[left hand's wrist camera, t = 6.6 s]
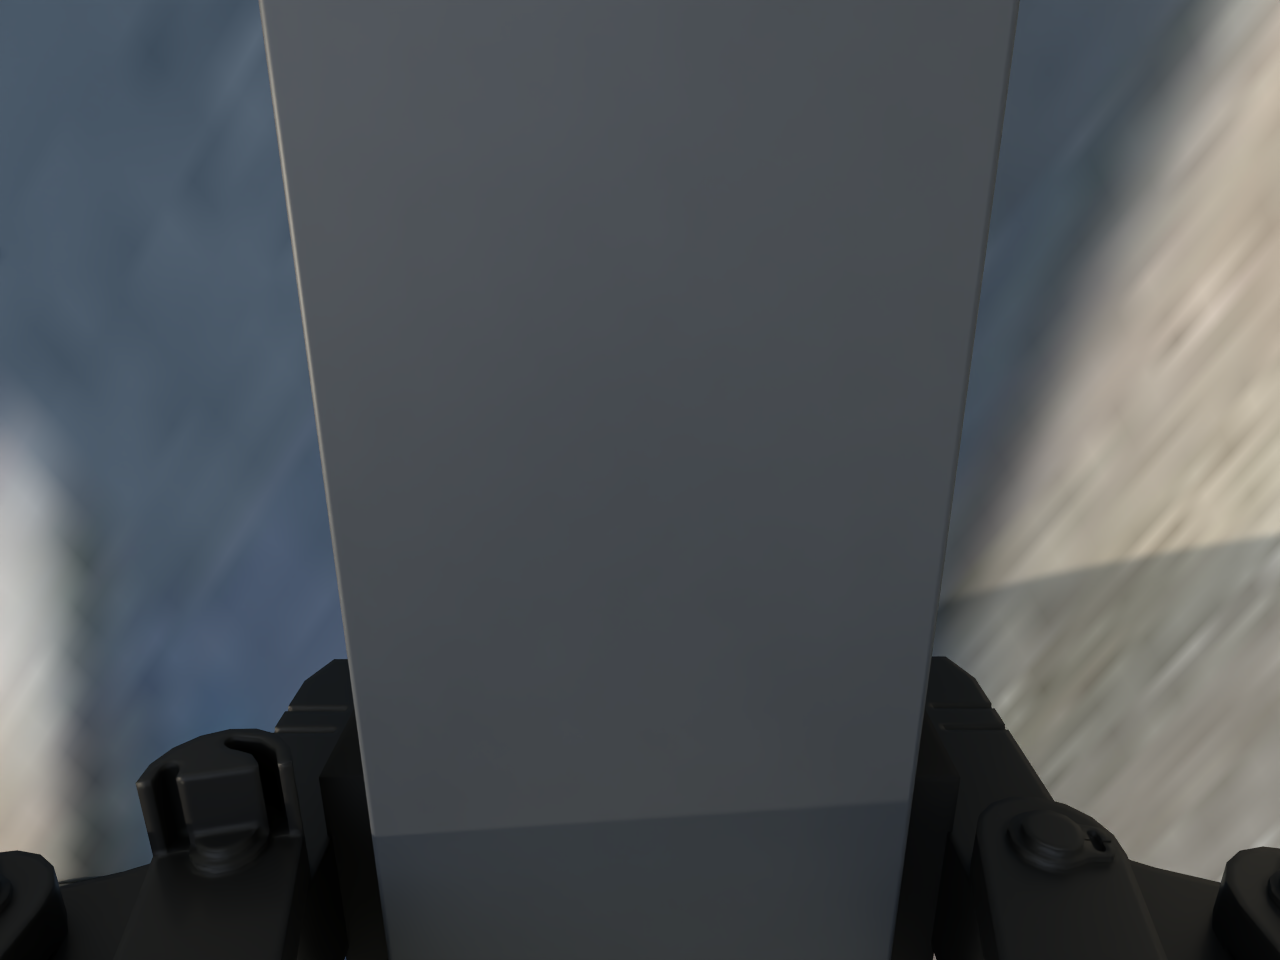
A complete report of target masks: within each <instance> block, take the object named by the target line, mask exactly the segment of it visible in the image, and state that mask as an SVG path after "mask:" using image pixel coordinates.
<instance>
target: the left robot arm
mask: <svg viewBox="0 0 1280 960" xmlns="http://www.w3.org/2000/svg"><path fill="white" fill-rule="evenodd" d="M288 708H289V709H288V711H285V713H284V714H283V716H282V717H281V719H280V720H279V722H278V723H277V725H276V727H275V732H274V733H270V732H267V731H263V730H259V729H229V730H224V731H220V732H215V733H211V734H207V735H202V736H199V737H197V738H195V739H192V740H190V741H188V742H186V743H183V744H181V745H179V746H176V747H174V748H172V749H171V750H170V751H168V752H167V753H165V754H164V755H163V756H161V757H160V758H158V759H157V760H156V761H154V762H153V763H151V764H150V765H149V766H148V768H147V769H146V770H145V772H144V773H143V774H142V776H141V777H140V778H139V780H138V781H137V782H136V786H137V791H138V795H139V799H140V803H141V807H142V811H143V816H144V820H145V824H146V828H147V832H148V836H149V840H150V845H151V849H152V853H153V858H152V861H151V863H150V864H147V865H144V866H141V867H137V868H134V869H131V870H127V871H124V872H120V873H115V874H111V875H107V876H102V877H98V878H94V879H89V880H85V881H81V882H76V883H67V884H58V880H57V877H56V873H55V870H54V867H53V866H52V865H51V864H50V863H49V862H48V861H47V860H46V859H45V858H44V857H43V856H41V855H40V854H34V853H29V852H23V851H18V850H17V851H9V852H0V960H344V959H345V956H346V959H347V960H389V959H388V951H387V944H386V936H385V929H384V922H383V914H382V907H381V900H380V892H379V885H378V878H377V870H376V863H375V855H374V848H373V841H372V833H371V826H370V819H369V811H368V804H367V796H366V789H365V782H364V774H363V767H362V760H361V752H360V745H359V737H358V730H357V723H356V715H355V708H354V701H353V693H352V686H351V678H350V671H349V664H348V659H334V660H333V661H331V662H330V663H328V664H327V665H326V666H324V667H323V668H322V669H320V670H319V671H318V672H316V673H315V674H314V675H312V676H311V677H310V678H308V679H307V680H305V681H304V683H303V684H302V686H301V688H300V689H299V691H298V692H297V694H296V695H295V697H294V699H293V700H292V702H291V703H290V705H289V706H288ZM934 954H935V956H936V959H937V960H1280V849H1279V848H1271V847H1258V848H1252V849H1247V850H1242V851H1239V852H1238V853H1237V854H1236V855H1235V856H1233V857H1232V858H1231V859H1230V860H1229V861H1228V862H1227V864H1226V867H1225V870H1224V874H1223V877H1222V881H1221V883H1219V882H1215V881H1211V880H1206V879H1202V878H1198V877H1193V876H1189V875H1185V874H1180V873H1176V872H1172V871H1167V870H1163V869H1159V868H1155V867H1151V866H1148V865H1145V864H1141V863H1138V862H1135V861H1131V860H1129V859H1128V857H1127V855H1126V853H1125V852H1124V850H1123V849H1122V847H1121V845H1120V844H1119V842H1118V841H1117V839H1116V838H1115V836H1114V835H1113V834H1112V833H1110V832H1109V831H1108V830H1107V829H1106V828H1104V827H1103V826H1102V825H1101V824H1099V823H1098V822H1097V821H1096V820H1095V819H1093V818H1092V817H1090V816H1088V815H1086V814H1084V813H1082V812H1080V811H1078V810H1076V809H1074V808H1072V807H1070V806H1068V805H1066V804H1063V803H1059V802H1055V801H1054V800H1053V798H1052V797H1051V795H1050V794H1049V792H1048V791H1047V789H1046V788H1045V786H1044V784H1043V783H1042V781H1041V780H1040V778H1039V777H1038V775H1037V774H1036V772H1035V770H1034V769H1033V767H1032V766H1031V764H1030V763H1029V761H1028V760H1027V758H1026V756H1025V755H1024V753H1023V752H1022V750H1021V749H1020V747H1019V746H1018V744H1017V743H1016V741H1015V739H1014V738H1013V736H1012V735H1011V733H1010V732H1009V730H1005V724H1004V722H1003V721H1002V719H1001V718H1000V716H999V715H998V713H997V712H996V710H995V708H992V707H991V702H990V701H989V699H988V698H987V696H986V694H985V693H984V691H983V690H982V688H981V687H980V685H979V684H978V682H977V681H976V679H975V678H974V677H973V676H971V675H970V674H969V673H967V672H966V671H964V670H963V669H962V668H960V667H959V666H958V665H956V664H955V663H954V662H952V661H951V660H949V659H948V658H947V657H931V665H930V672H929V679H928V687H927V694H926V702H925V709H924V717H923V724H922V732H921V739H920V746H919V754H918V761H917V769H916V776H915V784H914V791H913V799H912V806H911V813H910V821H909V828H908V836H907V843H906V851H905V858H904V866H903V873H902V880H901V888H900V895H899V903H898V910H897V918H896V925H895V933H894V940H893V947H892V955H891V960H933V955H934Z"/></svg>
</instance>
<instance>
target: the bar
mask: <svg viewBox="0 0 1280 960" xmlns="http://www.w3.org/2000/svg"><path fill="white" fill-rule="evenodd" d="M1019 2H1020V0H259V8H260V15H261V22H262V30H263V37H264V45H265V52H266V59H267V67H268V74H269V81H270V89H271V96H272V104H273V111H274V118H275V126H276V133H277V140H278V148H279V155H280V163H281V170H282V177H283V185H284V192H285V199H286V207H287V214H288V221H289V229H290V236H291V244H292V251H293V258H294V266H295V273H296V280H297V288H298V295H299V303H300V310H301V317H302V325H303V332H304V339H305V347H306V354H307V362H308V369H309V376H310V384H311V391H312V398H313V406H314V413H315V421H316V428H317V435H318V443H319V450H320V457H321V465H322V472H323V479H324V487H325V494H326V502H327V509H328V516H329V524H330V531H331V538H332V546H333V553H334V561H335V568H336V575H337V583H338V590H339V597H340V605H341V612H342V620H343V627H344V634H345V642H346V649H347V656H348V664H349V671H350V678H351V686H352V693H353V701H354V708H355V715H356V723H357V730H358V737H359V745H360V752H361V760H362V767H363V774H364V782H365V789H366V796H367V804H368V811H369V819H370V826H371V833H372V841H373V848H374V855H375V863H376V870H377V878H378V885H379V892H380V900H381V907H382V914H383V922H384V929H385V936H386V944H387V951H388V959H389V960H891V955H892V947H893V940H894V933H895V925H896V918H897V910H898V903H899V895H900V888H901V880H902V873H903V866H904V858H905V851H906V843H907V836H908V828H909V821H910V813H911V806H912V799H913V791H914V784H915V776H916V769H917V761H918V754H919V746H920V739H921V732H922V724H923V717H924V709H925V702H926V694H927V687H928V679H929V672H930V665H931V657H932V650H933V642H934V635H935V627H936V620H937V612H938V605H939V598H940V590H941V583H942V575H943V568H944V560H945V553H946V545H947V538H948V531H949V523H950V516H951V508H952V501H953V493H954V486H955V478H956V471H957V464H958V456H959V449H960V441H961V434H962V426H963V419H964V411H965V404H966V396H967V389H968V382H969V374H970V367H971V359H972V352H973V344H974V337H975V329H976V322H977V315H978V307H979V300H980V292H981V285H982V277H983V270H984V262H985V255H986V248H987V240H988V233H989V225H990V218H991V210H992V203H993V195H994V188H995V181H996V173H997V166H998V158H999V151H1000V143H1001V136H1002V128H1003V121H1004V114H1005V106H1006V99H1007V91H1008V84H1009V76H1010V69H1011V61H1012V54H1013V47H1014V39H1015V32H1016V24H1017V17H1018V9H1019Z"/></svg>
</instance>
